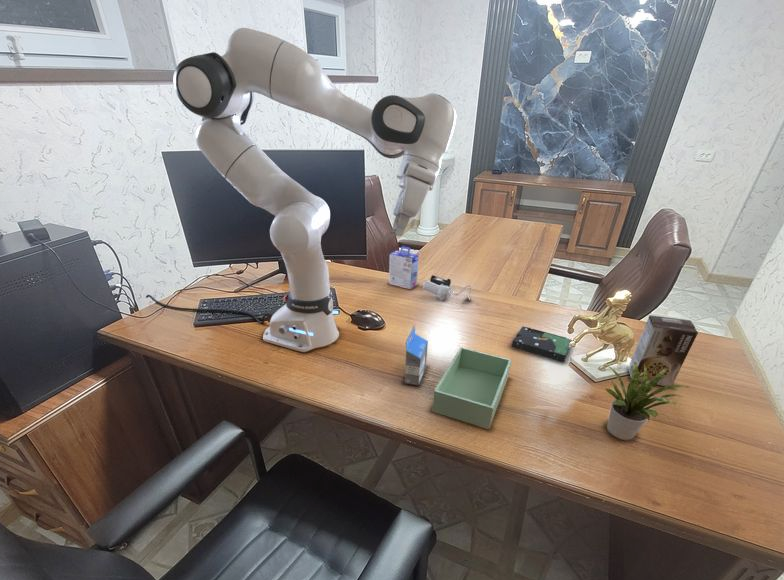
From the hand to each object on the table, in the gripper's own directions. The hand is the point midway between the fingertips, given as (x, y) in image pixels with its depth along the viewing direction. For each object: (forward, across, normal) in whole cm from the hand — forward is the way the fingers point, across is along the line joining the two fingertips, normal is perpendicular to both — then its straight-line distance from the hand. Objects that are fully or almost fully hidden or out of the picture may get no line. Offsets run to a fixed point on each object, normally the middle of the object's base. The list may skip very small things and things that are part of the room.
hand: (395, 235), depth 93 cm
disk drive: (+15, -8, +52) cm, 54 cm away
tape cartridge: (+31, +2, +17) cm, 36 cm away
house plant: (+22, +25, +59) cm, 68 cm away
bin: (+29, +10, +30) cm, 43 cm away
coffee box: (+11, +7, +74) cm, 75 cm away
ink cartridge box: (+15, -54, +14) cm, 58 cm away
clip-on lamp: (+13, -43, +30) cm, 54 cm away
